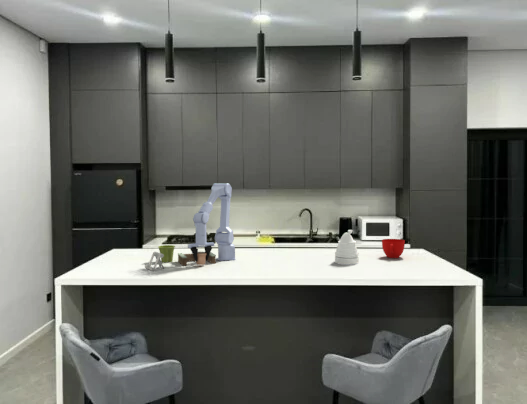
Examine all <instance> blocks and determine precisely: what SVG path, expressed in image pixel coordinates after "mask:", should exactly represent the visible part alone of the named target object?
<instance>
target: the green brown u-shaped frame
mask: <svg viewBox="0 0 527 404" xmlns="http://www.w3.org/2000/svg"><path fill="white" fill-rule="evenodd" d="M216 256H217V254H215V253H213V252H212V251H211V252H210V254H209V258H208V260H206V261H208V262H209V263H211V264H216V260H217V259H216V258H217V257H216ZM177 262H179V264H180V265H182V266H187V265H188V263H187V262H196V261H195V260H194V256H193V253H183V252H181V253H179V252H178V253H177Z"/></svg>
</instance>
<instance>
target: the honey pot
mask: <svg viewBox="0 0 527 404" xmlns="http://www.w3.org/2000/svg"><path fill="white" fill-rule="evenodd" d="M352 233H353V229H348V230H347V232H344V233H343V234H342V236H341V237H340V239H339V240H338V241H337V242H338V245H337V246H336V249H335V252H334V263H335V264H339V265H347V266H350V265H351V266H352V265H357V264H359V252H358V247H357V246H356V244H357V241H356V240H354V238H353V236H352V235H351V234H352Z"/></svg>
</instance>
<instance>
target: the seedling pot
mask: <svg viewBox="0 0 527 404" xmlns="http://www.w3.org/2000/svg"><path fill="white" fill-rule="evenodd" d="M206 255H207V253H206V252H205V251H198V253H197V261H195V265H199V266H204V265H206V261H207V260H206Z"/></svg>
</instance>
